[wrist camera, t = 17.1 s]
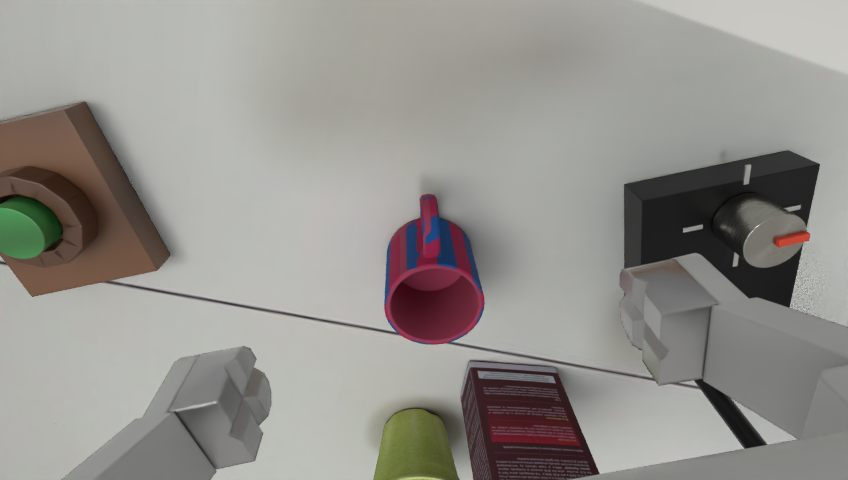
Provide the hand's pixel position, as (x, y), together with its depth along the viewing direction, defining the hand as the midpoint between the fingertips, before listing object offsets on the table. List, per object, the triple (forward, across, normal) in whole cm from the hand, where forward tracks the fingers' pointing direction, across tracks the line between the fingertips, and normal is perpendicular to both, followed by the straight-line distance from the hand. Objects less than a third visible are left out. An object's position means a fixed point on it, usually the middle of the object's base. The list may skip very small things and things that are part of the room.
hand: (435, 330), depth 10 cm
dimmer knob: (+21, -21, +13) cm, 32 cm away
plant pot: (+24, +7, +32) cm, 41 cm away
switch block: (+24, +26, +2) cm, 35 cm away
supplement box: (+24, -3, +28) cm, 37 cm away
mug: (+24, +1, +11) cm, 26 cm away
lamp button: (+21, +26, +2) cm, 33 cm away
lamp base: (+24, -20, +17) cm, 36 cm away
